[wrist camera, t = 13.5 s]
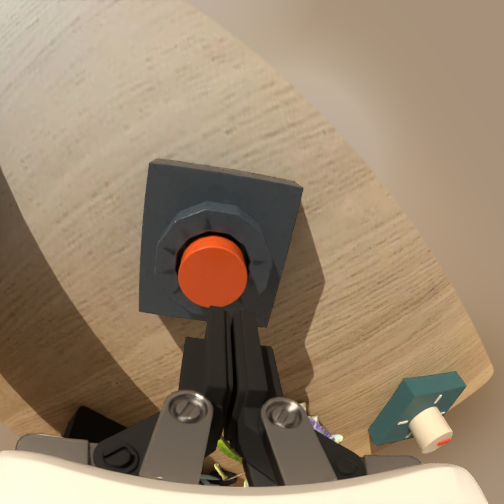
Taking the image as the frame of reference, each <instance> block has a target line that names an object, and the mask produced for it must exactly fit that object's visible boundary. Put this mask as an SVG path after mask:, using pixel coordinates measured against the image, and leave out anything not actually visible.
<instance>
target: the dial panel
mask: <svg viewBox="0 0 504 504" xmlns="http://www.w3.org/2000/svg"><path fill="white" fill-rule="evenodd" d="M466 386H467V385H466V384H465V383H464V381H463V380H462V379H461V377H460V376H459V375H458V374H457V372H450V373H444V374H437V375H430V376H422V377H414V378H405V379H403V381H402V382H401V384H400V386H399V387H398V389H397V390H396V392H395V393H394V395H393V396H392V397H391V399H390V400H389V402H388V403H387V405H386V406H385V407H384V409H383V410H382V412H381V413H380V414H379V416H378V417H377V418H376V420H375V421H374V422H373V424H372V425H371V426H370V428H369V429H368V431H369V433H370V435H371V437H372V440H373V442H374V444H375V446H378V445H383V444H388V443H392V442H397V441H401V440H405V439H409V438H413V437H414V436H413V435H412V433H411V431H410V429H409V423H410V422H411V421H412V419H413V418H414V417H415V416H417V415H418V414H419V413H421V412H422V411H424V410H426V409H428V408H430V407H437V408H438V410H439V411H440V413H441V414H442V416H444V415H445V413H446V412H447V411H448V410H449V408H450V407H451V406H452V405H453V403H454V402H455V401H456V399H457V398H458V397H459V395H460V394H461V393H462V391H463V390H464V389H465V387H466Z"/></svg>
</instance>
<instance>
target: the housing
mask: <svg viewBox="0 0 504 504" xmlns="http://www.w3.org/2000/svg"><path fill="white" fill-rule="evenodd" d="M302 192H303V187H301V186H300V185H299V184H297V183H296V182H295V181H291V180H286V179H281V178H276V177H271V176H266V175H261V174H255V173H250V172H244V171H239V170H233V169H227V168H221V167H215V166H208V165H202V164H195V163H188V162H181V161H173V160H166V159H155V160H153V161H151V162H150V163H149V169H148V177H147V185H146V194H145V204H144V214H143V226H142V239H141V256H140V279H139V312H145V313H152V314H158V315H165V316H171V317H178V318H186V319H193V320H201V321H207V319H208V313H209V308H207V307H203V306H200V305H197V304H195V303H194V302H192V301H191V300H189V299H188V298H187V297H186V296H185V294H184V293H183V292H182V290H181V288H180V285H179V281H178V272H179V268H180V263H181V259H182V256H183V253H184V251H185V249H186V248H187V247H188V245H189V244H190V243H192V242H193V241H194V240H196V239H198V238H200V237H203V236H207V235H218V236H223V237H226V238H228V239H230V240H231V241H233V242H234V243H235V244H236V245H237V246H238V247H239V248H240V250H241V251H242V253H243V256H244V260H245V264H246V269H247V285H246V288H245V290H244V292H243V293H242V295H241V296H240V297H239V298H238V299H237V300H236V301H234V302H233V303H231V304H229V305H227V306H223V307H224V311H228V312H230V324H231V321H232V317H233V313H234V312H236V313H238V312H239V310H240V309H242V310H250V311H254V312H255V317H256V323H257V327H267V325H268V322H269V318H270V314H271V311H272V307H273V304H274V300H275V296H276V293H277V289H278V285H279V282H280V278H281V274H282V270H283V267H284V263H285V259H286V255H287V252H288V248H289V244H290V240H291V236H292V232H293V228H294V224H295V220H296V216H297V212H298V208H299V204H300V200H301V196H302Z"/></svg>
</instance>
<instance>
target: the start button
mask: <svg viewBox="0 0 504 504" xmlns="http://www.w3.org/2000/svg"><path fill="white" fill-rule="evenodd" d="M178 281H179V285H180V288H181V290H182V292H183V293H184V294H185V296H186V297H187V298H188V299H189V300H191V301H192V302H194V303H195V304H197V305H200V306H203V307H207V308H209V307H210V305H212V306H219V307H223V306H227V305H229V304H231V303H233V302H234V301H236V300H237V299H238V298H239V297H240V296H241V295H242V293H243V292H244V290H245V288H246V285H247V269H246V264H245V260H244V256H243V253H242V251H241V250H240V248H239V247H238V246H237V245H236V244H235V243H234V242H233V241H231V240H230V239H228V238H226V237H223V236H218V235H207V236H203V237H200V238H198V239H196V240H194V241H193V242H192V243H190V244H189V245H188V247H187V248H186V249H185V251H184V253H183V256H182V259H181V263H180V268H179V272H178Z"/></svg>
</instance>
